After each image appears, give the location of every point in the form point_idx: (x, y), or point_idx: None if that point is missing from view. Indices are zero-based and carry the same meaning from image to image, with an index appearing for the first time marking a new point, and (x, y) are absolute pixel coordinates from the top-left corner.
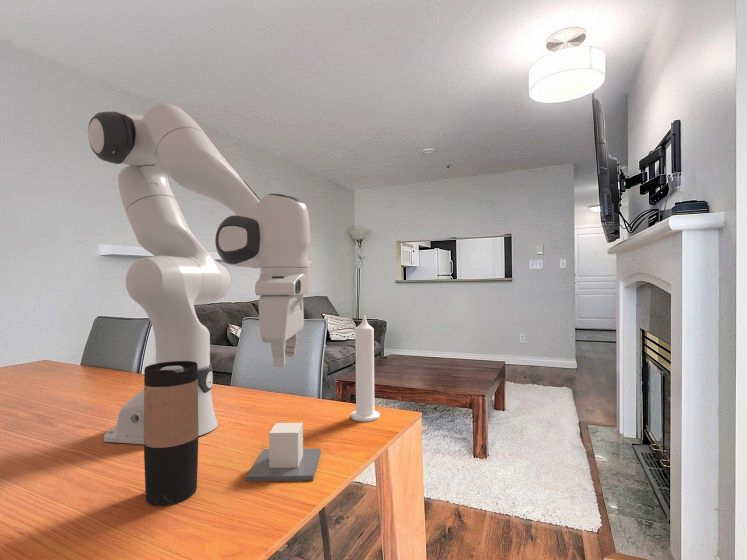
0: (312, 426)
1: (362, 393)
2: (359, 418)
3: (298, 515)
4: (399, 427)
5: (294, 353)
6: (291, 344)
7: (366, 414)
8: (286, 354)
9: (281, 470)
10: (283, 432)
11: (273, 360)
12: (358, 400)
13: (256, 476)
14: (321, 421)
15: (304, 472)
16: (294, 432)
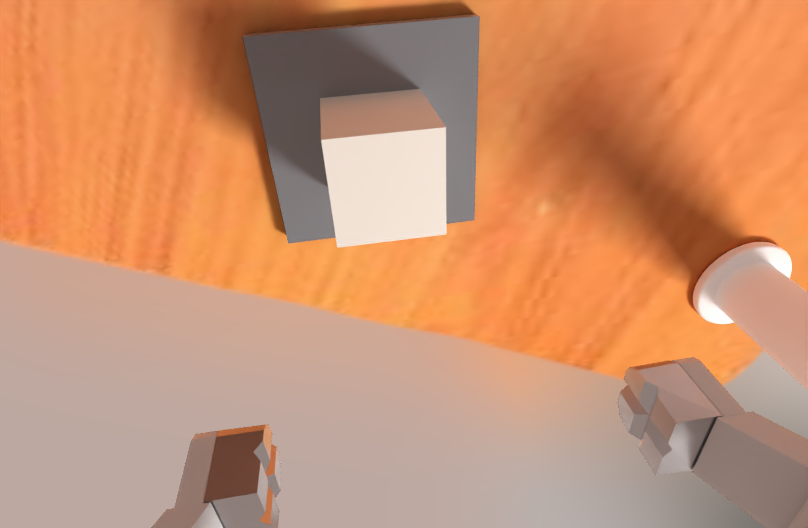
0: (708, 130)
1: (778, 336)
2: (708, 277)
3: (108, 247)
4: (621, 370)
5: (635, 430)
6: (727, 465)
7: (720, 299)
8: (637, 382)
9: (306, 145)
10: (333, 195)
11: (183, 474)
12: (771, 304)
13: (251, 74)
14: (749, 151)
15: (302, 216)
16: (338, 234)
